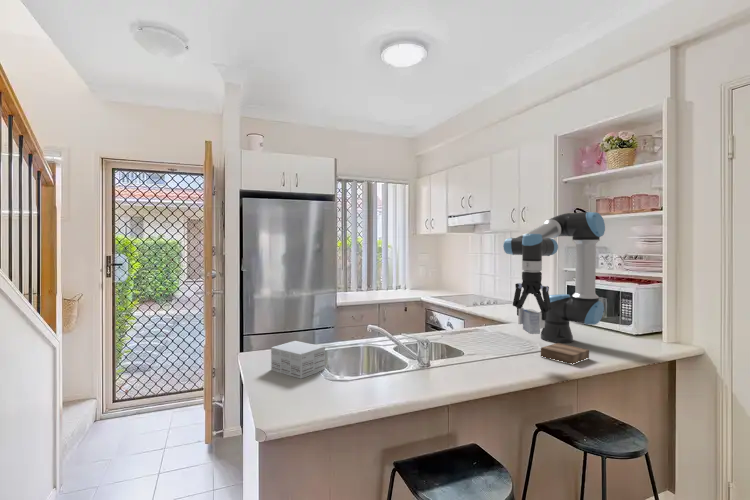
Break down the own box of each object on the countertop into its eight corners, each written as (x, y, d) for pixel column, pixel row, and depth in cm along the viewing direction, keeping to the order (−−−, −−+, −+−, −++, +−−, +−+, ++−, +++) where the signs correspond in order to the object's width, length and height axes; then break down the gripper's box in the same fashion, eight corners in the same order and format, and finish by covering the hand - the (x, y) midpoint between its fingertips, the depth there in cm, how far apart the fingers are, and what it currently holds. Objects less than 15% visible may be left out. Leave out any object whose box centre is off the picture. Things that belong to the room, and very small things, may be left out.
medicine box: (540, 334, 159) (540, 312, 159) (529, 334, 159) (529, 312, 159) (533, 329, 167) (533, 309, 166) (522, 329, 167) (522, 309, 167)
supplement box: (325, 370, 155) (325, 346, 155) (301, 379, 144) (301, 354, 144) (295, 361, 165) (295, 339, 165) (270, 370, 154) (270, 346, 154)
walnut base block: (557, 351, 182) (557, 342, 181) (588, 359, 170) (589, 349, 170) (540, 356, 173) (540, 347, 173) (572, 365, 162) (572, 355, 162)
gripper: (503, 269, 168) (503, 322, 169) (551, 273, 151) (551, 332, 152) (514, 268, 173) (513, 320, 174) (562, 272, 156) (561, 329, 156)
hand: (531, 325), depth 163 cm, fingers closed on medicine box, 9 cm apart
